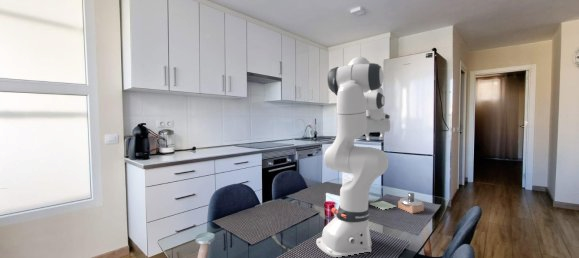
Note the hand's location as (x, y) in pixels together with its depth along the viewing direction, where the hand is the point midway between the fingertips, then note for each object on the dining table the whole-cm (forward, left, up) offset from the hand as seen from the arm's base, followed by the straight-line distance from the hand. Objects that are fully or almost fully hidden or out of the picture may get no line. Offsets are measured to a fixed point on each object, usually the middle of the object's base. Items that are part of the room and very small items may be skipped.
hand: (374, 140), depth 146 cm
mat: (+2, -5, -37) cm, 37 cm away
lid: (+11, -16, -33) cm, 38 cm away
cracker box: (-10, +6, -37) cm, 39 cm away
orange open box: (+11, -16, -37) cm, 42 cm away
